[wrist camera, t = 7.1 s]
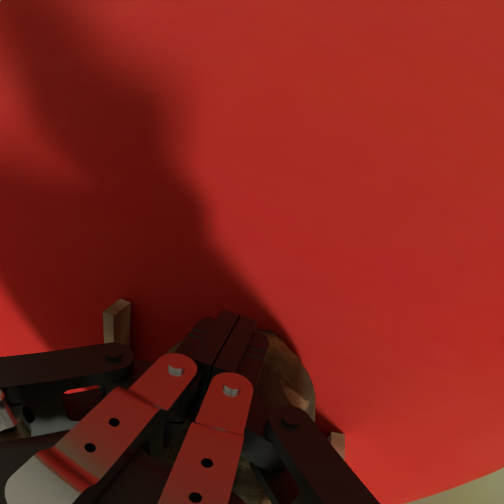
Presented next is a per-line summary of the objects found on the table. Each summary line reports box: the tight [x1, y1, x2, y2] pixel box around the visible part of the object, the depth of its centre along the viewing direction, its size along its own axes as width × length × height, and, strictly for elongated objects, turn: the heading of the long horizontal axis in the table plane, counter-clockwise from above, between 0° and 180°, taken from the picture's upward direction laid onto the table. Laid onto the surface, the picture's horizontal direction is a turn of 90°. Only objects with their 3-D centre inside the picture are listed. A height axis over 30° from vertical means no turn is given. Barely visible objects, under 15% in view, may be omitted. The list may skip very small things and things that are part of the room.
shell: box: [164, 330, 316, 504], centre depth 13 cm, size 11×11×12 cm
